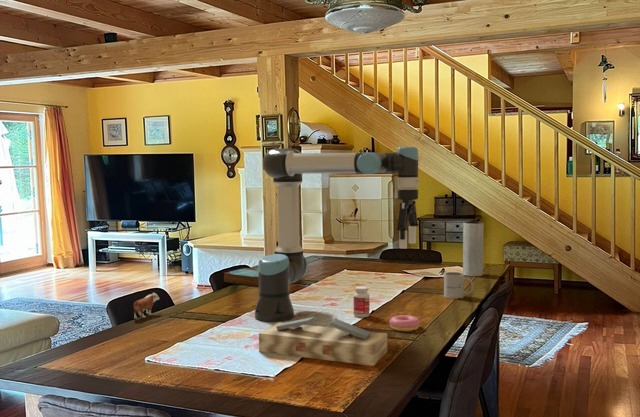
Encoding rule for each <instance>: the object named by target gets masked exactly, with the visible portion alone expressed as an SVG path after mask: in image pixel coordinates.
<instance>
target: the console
mask: <svg viewBox="0 0 640 417" xmlns="http://www.w3.org/2000/svg"><path fill="white" fill-rule="evenodd" d="M282 323H283V322H282V321H281V322H280V321H277V322H276V323H275V324H273V325H271V326H269V327H267V328H265V329H264V330H262V331H260V332H259V333H258V352H259V353H265V354H274V355H283V356H291V357H300V358H307V359H315V360H322V361H332V362H340V363H347V364H355V365H356V364H357V365H362V366H363V365H364V366H370V367H374V366H375V365H376V364H377V363H378V362H379V361H380V360H381V359H382V358H383V357H384V356H385V355H386V354H387V353H388V333H387V332H380V331H379V332H376V331H370V332H371V333H370V336H369V337H368V338H367V339H366V340H365V339H362V338H360V337H357V336H355V335H352V334H349V335H345V333H346V332H344V331H342V330H339V329H337V328H334V327H331V326H330V327H329V326H319V325H311V324H307V325H302V326H299V327H298V328H296V329H294V330H293V329H292V327H291V328H286V329H281V330H277V328H276V327H277V326H278V325H280V324H282Z"/></svg>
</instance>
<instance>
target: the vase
mask: <svg viewBox="0 0 640 417" xmlns="http://www.w3.org/2000/svg"><path fill="white" fill-rule="evenodd" d="M462 224H463V225H462V227H463V228H462V230H463V231H462V233H463V234H462V273H464V276H465V275H466V276H465V277H482V276H483V275H484V230H485V229H484V222H483V221H476V220H474V221H470V220H469V221H464V222H463V223H462Z"/></svg>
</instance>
